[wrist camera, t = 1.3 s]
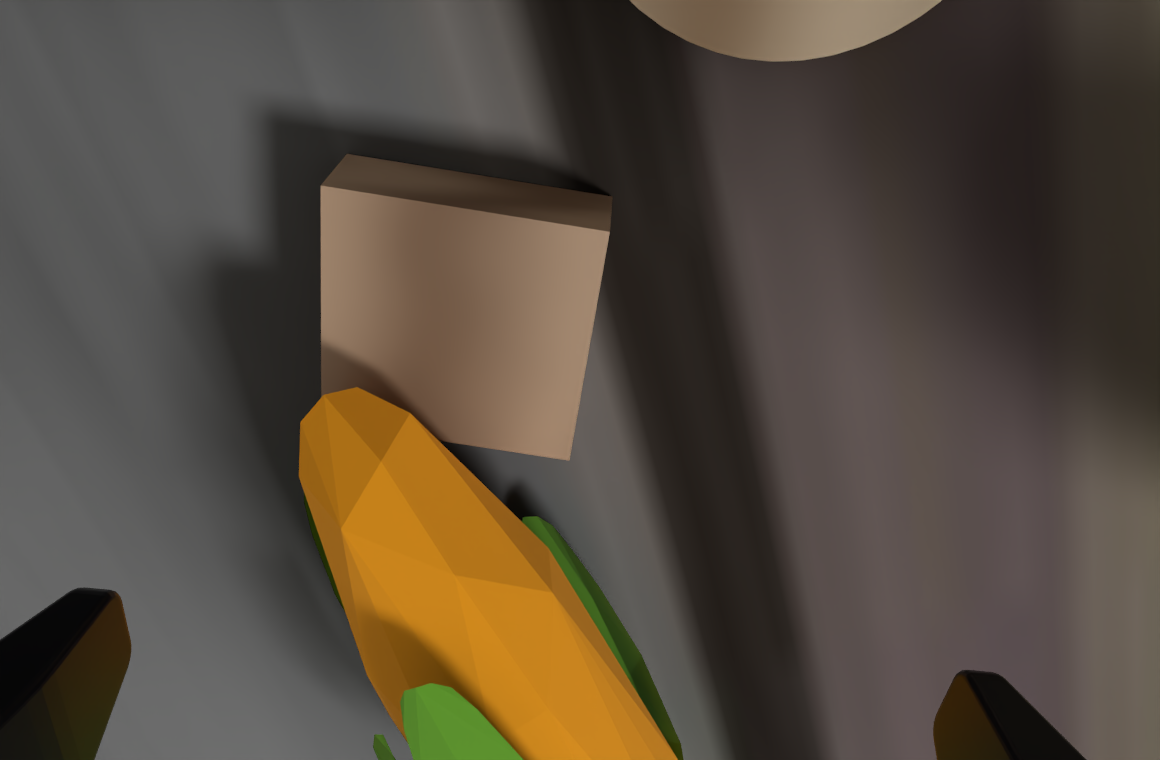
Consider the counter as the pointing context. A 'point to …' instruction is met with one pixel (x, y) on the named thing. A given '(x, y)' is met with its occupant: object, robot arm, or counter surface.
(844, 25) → the coaster
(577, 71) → the counter surface
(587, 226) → the tile
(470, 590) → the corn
